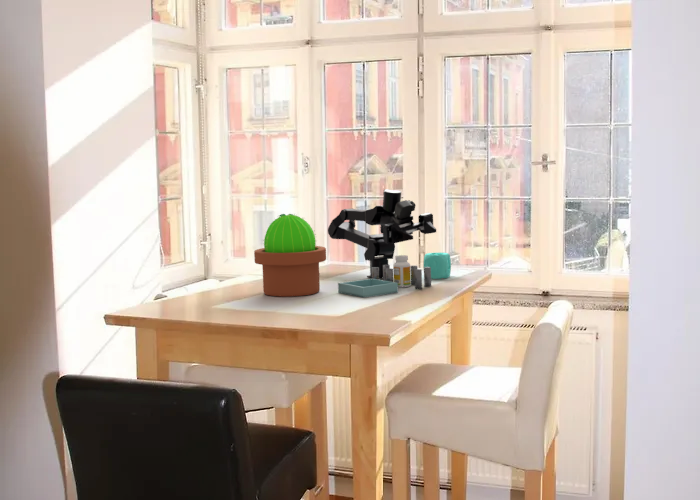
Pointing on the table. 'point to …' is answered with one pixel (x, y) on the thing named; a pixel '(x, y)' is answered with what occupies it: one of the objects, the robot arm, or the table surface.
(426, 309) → the table surface
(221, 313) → the table surface
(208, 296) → the table surface
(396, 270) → the supplement bottle
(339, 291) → the teal tray
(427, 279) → the spacer field
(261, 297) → the table surface
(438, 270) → the decorative dice
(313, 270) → the potted cactus
